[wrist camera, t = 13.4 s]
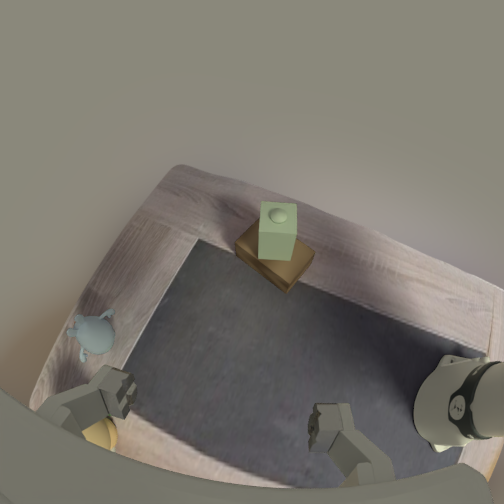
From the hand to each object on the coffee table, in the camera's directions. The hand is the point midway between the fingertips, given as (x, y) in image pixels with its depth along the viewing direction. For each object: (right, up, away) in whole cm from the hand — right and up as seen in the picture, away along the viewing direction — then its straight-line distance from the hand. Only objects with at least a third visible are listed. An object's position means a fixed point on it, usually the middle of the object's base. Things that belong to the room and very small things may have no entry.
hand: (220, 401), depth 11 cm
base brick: (+5, +5, +38) cm, 39 cm away
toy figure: (-23, -9, +31) cm, 40 cm away
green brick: (+5, +7, +34) cm, 35 cm away
